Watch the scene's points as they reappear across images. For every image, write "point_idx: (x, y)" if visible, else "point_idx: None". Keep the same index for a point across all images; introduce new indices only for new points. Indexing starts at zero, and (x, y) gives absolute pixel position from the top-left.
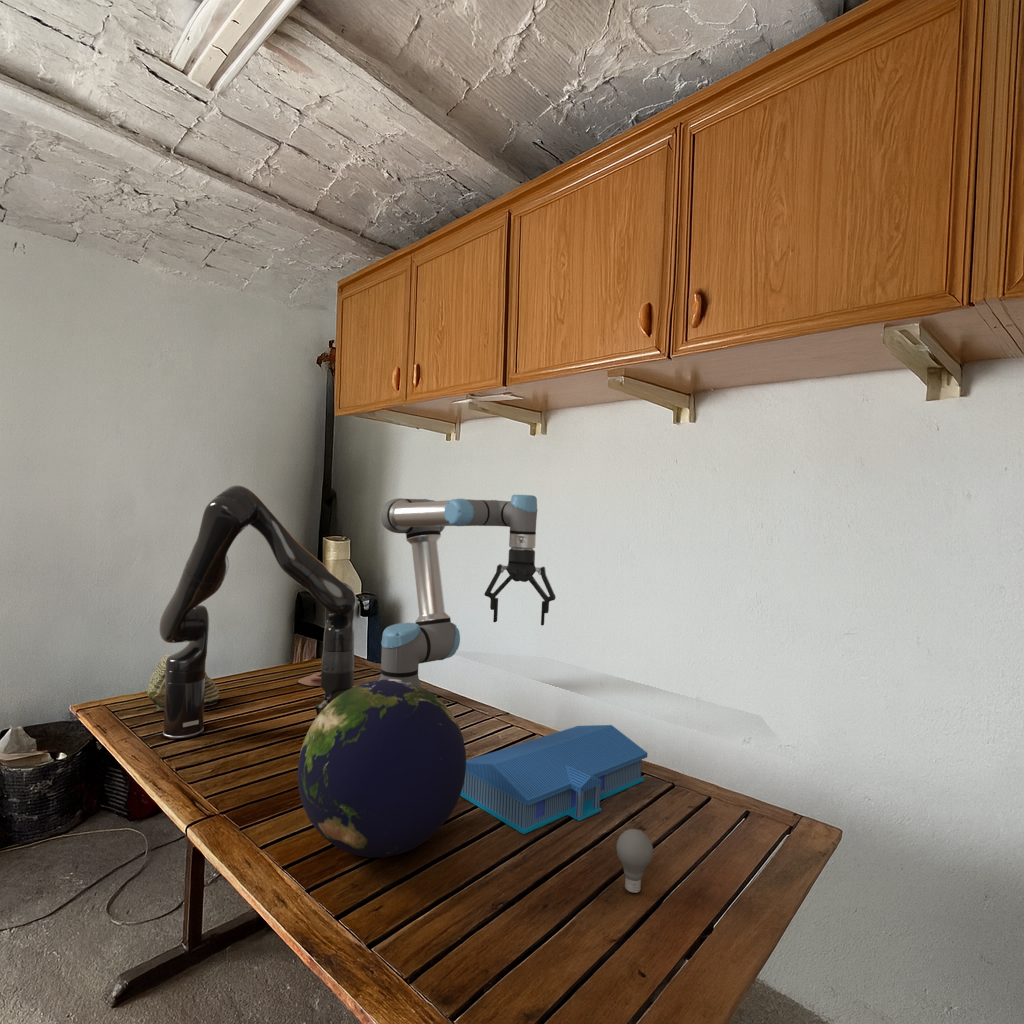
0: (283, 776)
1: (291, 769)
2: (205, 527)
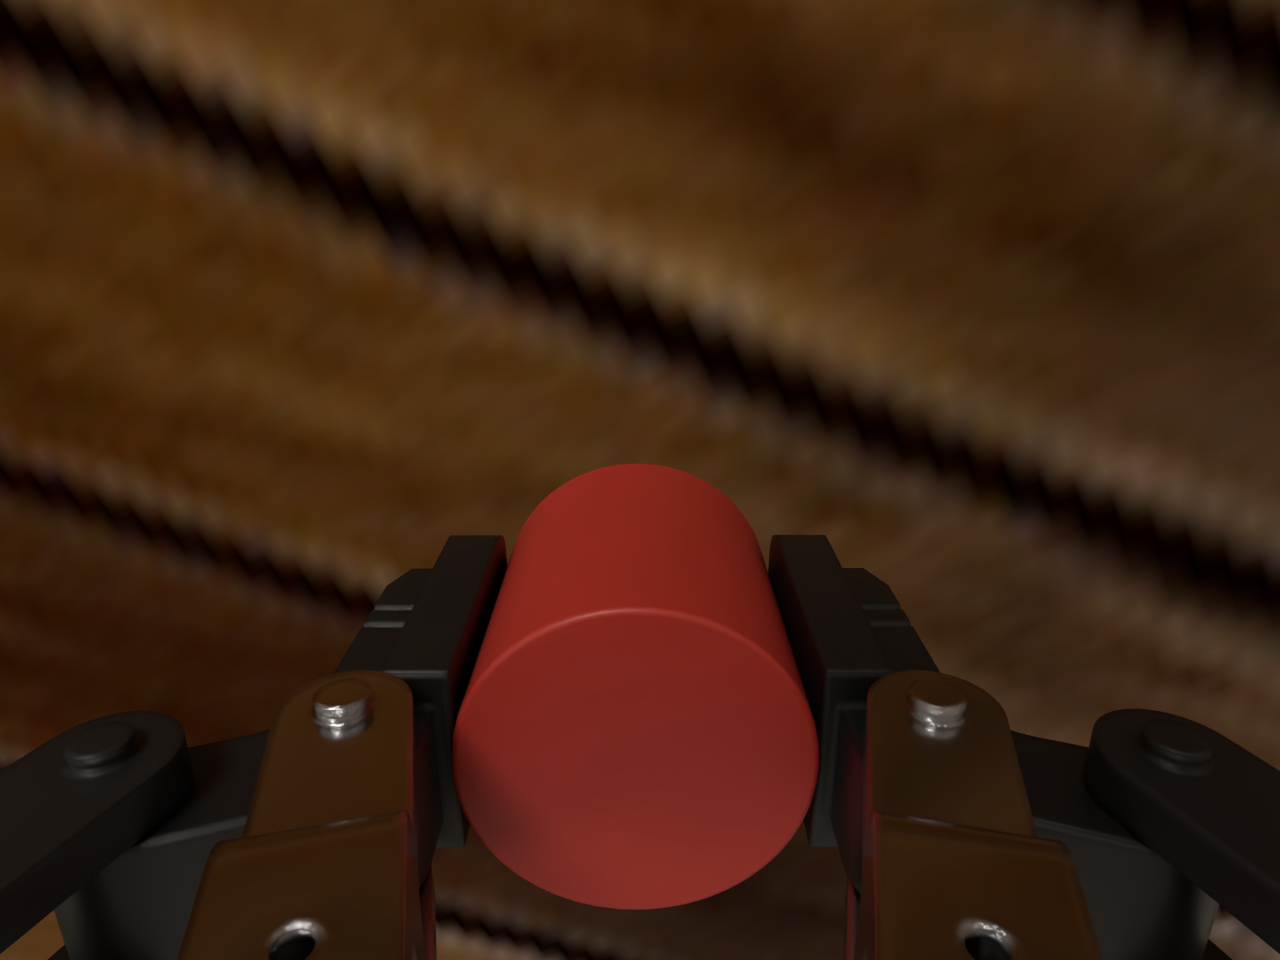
0: (52, 149)
1: (250, 109)
2: None
